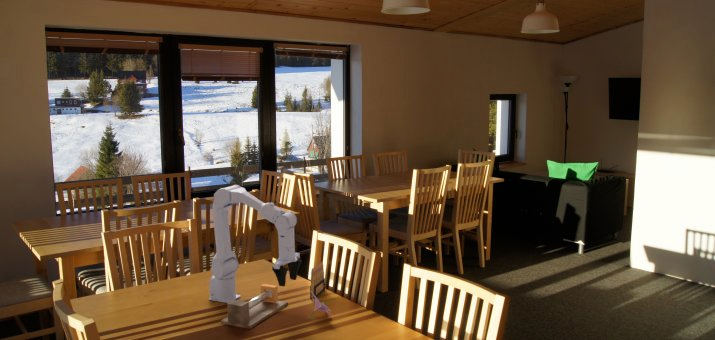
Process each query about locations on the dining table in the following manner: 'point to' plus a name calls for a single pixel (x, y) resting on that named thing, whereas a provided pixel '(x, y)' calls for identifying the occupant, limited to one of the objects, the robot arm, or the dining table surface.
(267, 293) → the pipe
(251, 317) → the pipe board
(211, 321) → the dining table surface
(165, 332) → the dining table surface
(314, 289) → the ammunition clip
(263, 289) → the collar
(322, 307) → the lily
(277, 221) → the robot arm
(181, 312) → the dining table surface
